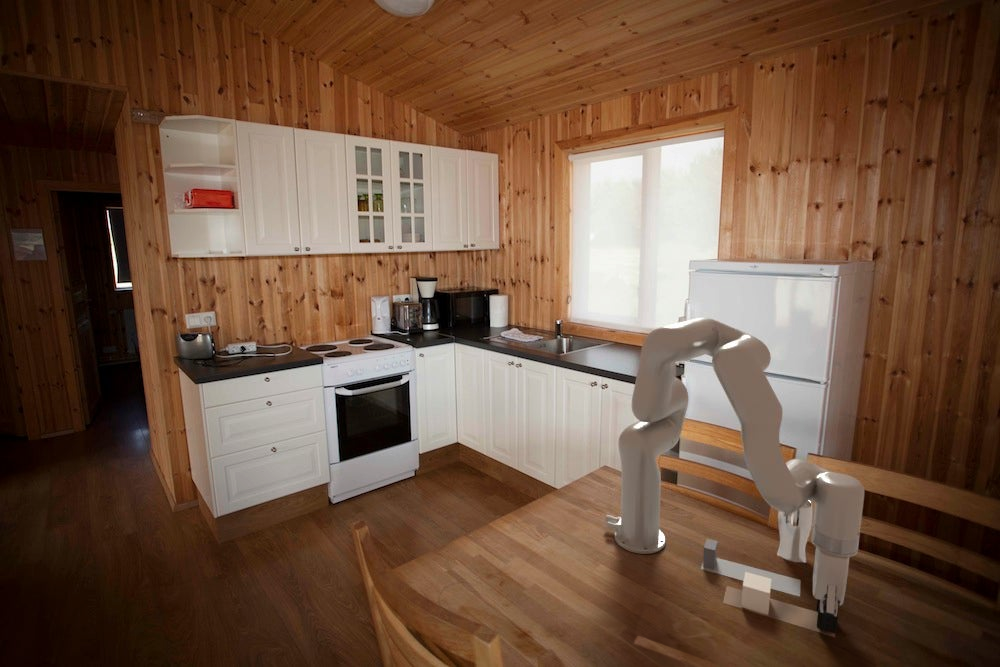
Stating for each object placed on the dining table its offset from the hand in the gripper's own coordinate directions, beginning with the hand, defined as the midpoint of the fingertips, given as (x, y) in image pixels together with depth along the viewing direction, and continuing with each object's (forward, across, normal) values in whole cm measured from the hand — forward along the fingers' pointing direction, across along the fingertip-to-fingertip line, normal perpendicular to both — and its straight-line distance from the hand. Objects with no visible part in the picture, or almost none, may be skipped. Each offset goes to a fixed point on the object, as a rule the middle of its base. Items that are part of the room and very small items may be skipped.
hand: (825, 621), depth 104 cm
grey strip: (+2, -10, -14) cm, 17 cm away
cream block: (+1, 0, -12) cm, 13 cm away
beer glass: (+2, -22, -6) cm, 23 cm away
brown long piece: (+2, 0, -8) cm, 9 cm away
